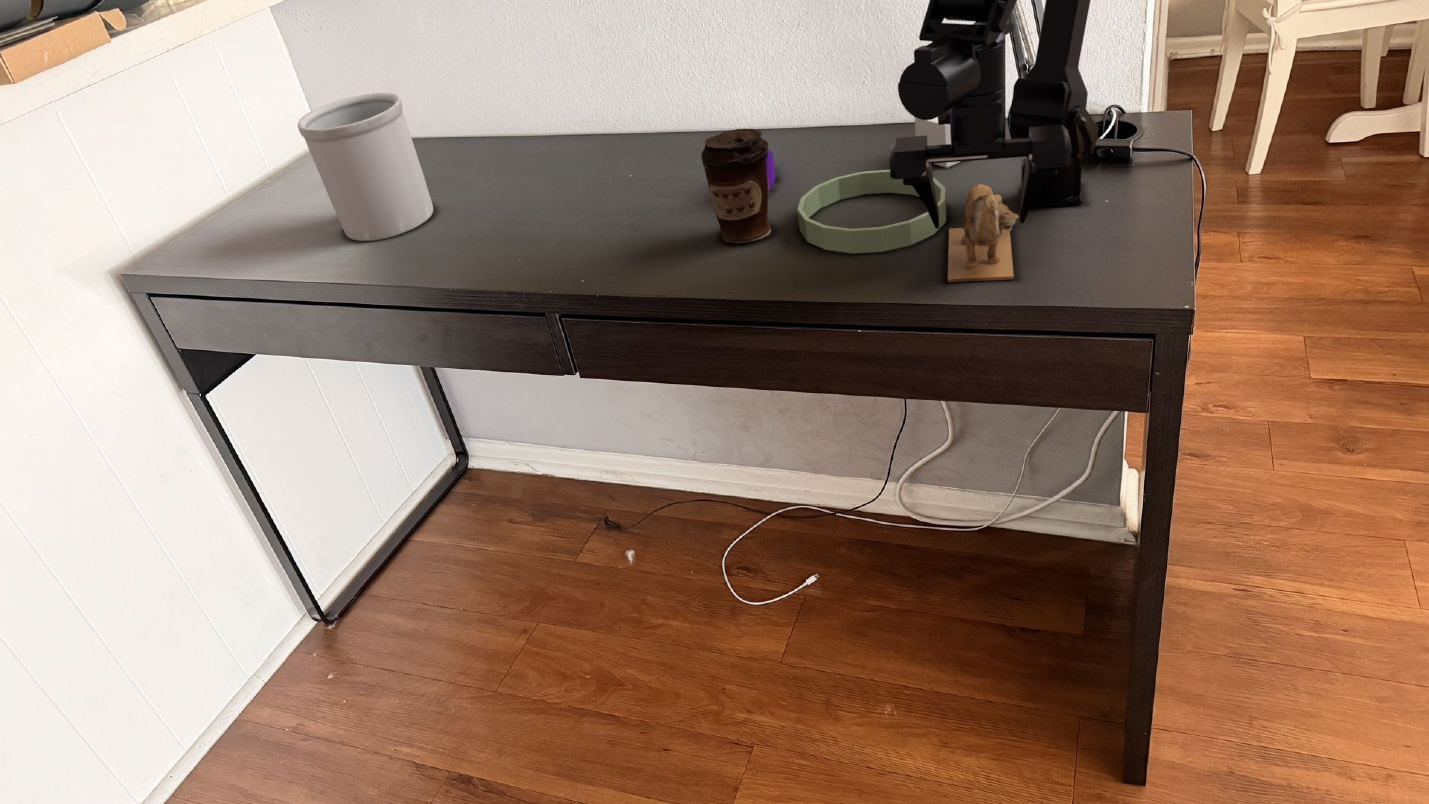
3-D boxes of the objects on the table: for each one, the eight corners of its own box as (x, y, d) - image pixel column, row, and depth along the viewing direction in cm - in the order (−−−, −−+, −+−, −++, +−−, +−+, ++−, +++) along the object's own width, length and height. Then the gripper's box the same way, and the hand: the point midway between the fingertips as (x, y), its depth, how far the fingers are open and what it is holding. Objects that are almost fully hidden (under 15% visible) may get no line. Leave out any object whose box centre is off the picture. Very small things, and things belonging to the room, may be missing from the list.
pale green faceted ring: (947, 187, 135) (946, 165, 133) (945, 248, 120) (944, 225, 119) (810, 196, 139) (807, 175, 138) (792, 256, 125) (789, 234, 123)
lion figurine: (1020, 276, 111) (1021, 199, 106) (970, 283, 112) (969, 206, 107) (991, 221, 123) (991, 150, 118) (946, 227, 124) (944, 156, 119)
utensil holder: (372, 251, 147) (329, 133, 138) (322, 233, 157) (278, 121, 147) (455, 211, 155) (419, 97, 146) (403, 196, 165) (366, 88, 155)
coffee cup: (773, 247, 128) (759, 147, 120) (708, 251, 130) (691, 153, 123) (783, 218, 134) (770, 122, 127) (721, 222, 137) (706, 127, 130)
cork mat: (1009, 228, 122) (1009, 225, 122) (1013, 279, 112) (1013, 276, 111) (949, 231, 124) (949, 228, 124) (947, 282, 113) (947, 279, 113)
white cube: (978, 154, 142) (978, 111, 139) (946, 168, 140) (945, 125, 137) (947, 145, 147) (946, 103, 144) (916, 158, 145) (914, 116, 141)
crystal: (783, 136, 149) (761, 165, 137) (786, 169, 151) (765, 201, 139) (751, 138, 151) (727, 167, 138) (754, 171, 153) (731, 202, 140)
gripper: (1064, 55, 111) (1060, 190, 120) (891, 72, 116) (898, 200, 124) (1073, 88, 102) (1068, 231, 111) (885, 105, 107) (894, 241, 115)
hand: (979, 224), depth 116 cm, fingers open, 9 cm apart
